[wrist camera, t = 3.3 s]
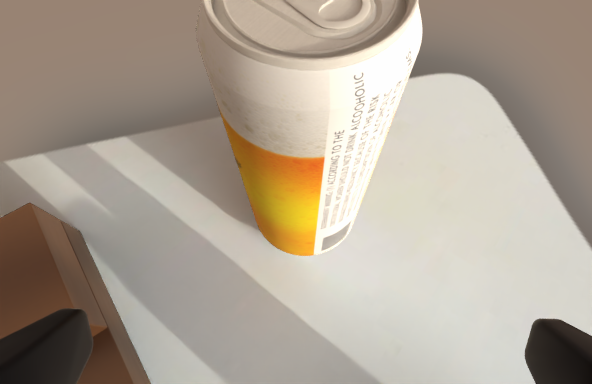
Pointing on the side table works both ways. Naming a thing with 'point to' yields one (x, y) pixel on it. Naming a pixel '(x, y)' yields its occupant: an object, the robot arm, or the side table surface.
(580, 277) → the side table surface
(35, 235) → the riser
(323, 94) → the beer can
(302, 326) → the side table surface
